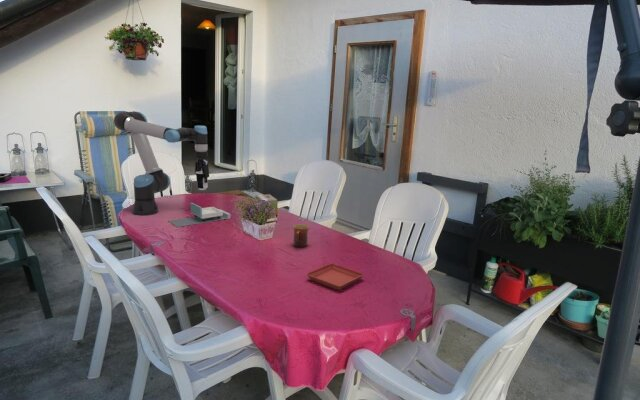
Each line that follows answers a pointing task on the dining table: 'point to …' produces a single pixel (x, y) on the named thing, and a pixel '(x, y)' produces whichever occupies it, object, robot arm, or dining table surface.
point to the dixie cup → (200, 180)
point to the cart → (205, 212)
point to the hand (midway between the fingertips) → (202, 186)
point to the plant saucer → (334, 276)
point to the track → (198, 220)
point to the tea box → (269, 200)
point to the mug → (300, 235)
